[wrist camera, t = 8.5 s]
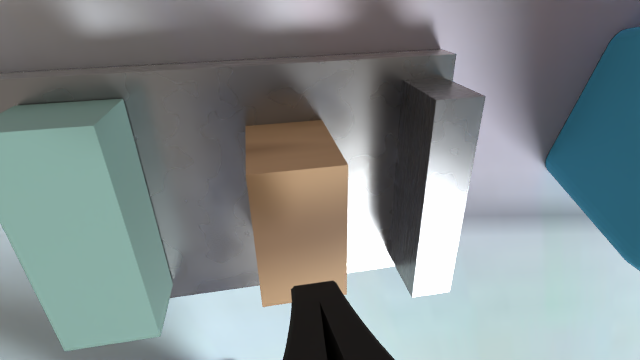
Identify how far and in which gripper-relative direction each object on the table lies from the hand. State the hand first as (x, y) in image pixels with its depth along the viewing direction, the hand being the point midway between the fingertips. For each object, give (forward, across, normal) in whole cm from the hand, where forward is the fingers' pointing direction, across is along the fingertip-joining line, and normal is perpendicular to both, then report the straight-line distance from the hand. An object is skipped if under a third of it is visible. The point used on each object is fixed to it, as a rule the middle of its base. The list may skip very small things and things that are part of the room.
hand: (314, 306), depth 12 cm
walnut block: (+8, 0, 0) cm, 8 cm away
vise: (+9, +2, 0) cm, 10 cm away
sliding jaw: (+8, +9, 0) cm, 12 cm away
